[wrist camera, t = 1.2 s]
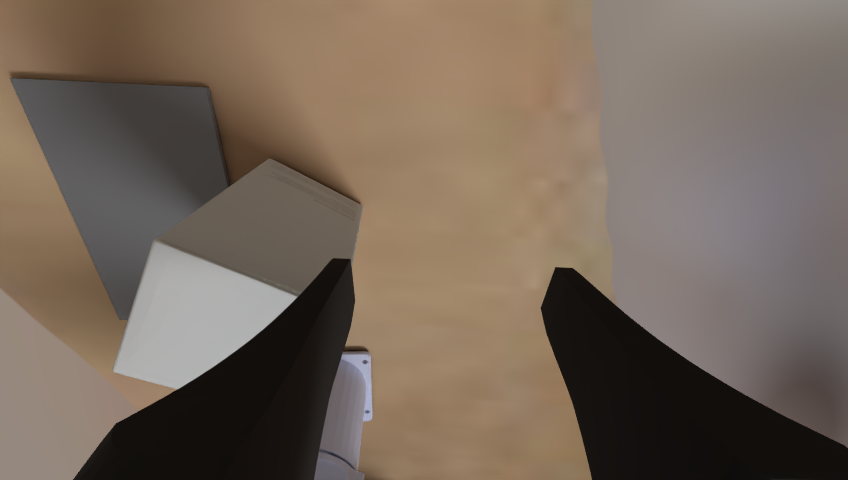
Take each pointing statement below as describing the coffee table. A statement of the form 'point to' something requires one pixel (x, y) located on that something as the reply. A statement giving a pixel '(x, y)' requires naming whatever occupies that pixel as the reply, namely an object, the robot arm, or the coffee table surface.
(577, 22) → the coffee table surface
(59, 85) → the mat
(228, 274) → the supplement box
